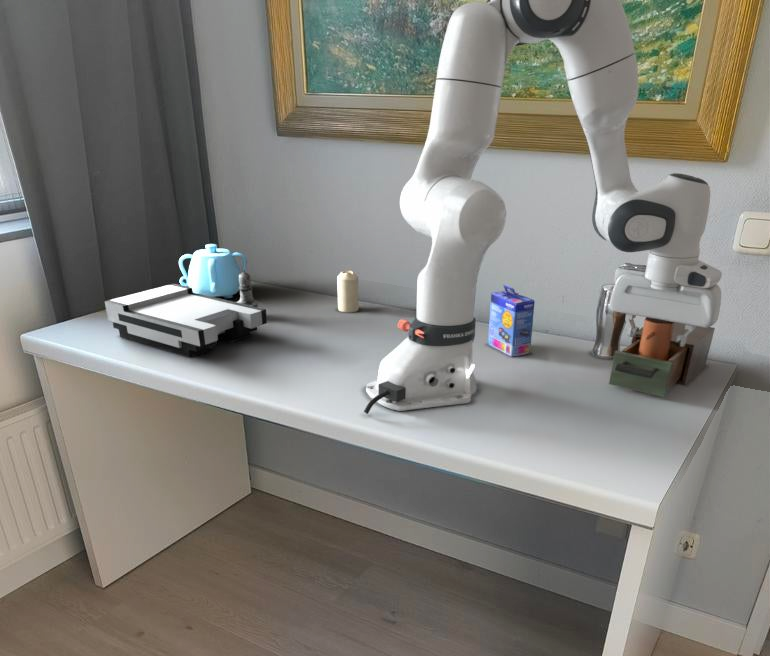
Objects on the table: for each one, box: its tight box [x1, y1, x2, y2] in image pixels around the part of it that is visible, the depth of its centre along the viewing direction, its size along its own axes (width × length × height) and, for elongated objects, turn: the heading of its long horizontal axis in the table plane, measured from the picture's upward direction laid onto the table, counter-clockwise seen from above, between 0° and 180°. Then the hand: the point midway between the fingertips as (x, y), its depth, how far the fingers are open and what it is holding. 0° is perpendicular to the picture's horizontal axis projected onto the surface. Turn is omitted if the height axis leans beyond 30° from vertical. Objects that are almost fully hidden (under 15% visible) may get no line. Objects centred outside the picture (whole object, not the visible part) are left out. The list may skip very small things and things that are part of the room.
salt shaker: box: [236, 269, 259, 308], centre depth 182 cm, size 6×6×12 cm
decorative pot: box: [178, 243, 248, 299], centre depth 200 cm, size 16×16×14 cm
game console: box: [104, 283, 268, 358], centre depth 169 cm, size 21×32×8 cm, turn 54°
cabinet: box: [630, 322, 716, 386], centre depth 152 cm, size 14×12×8 cm
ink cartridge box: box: [487, 284, 536, 358], centre depth 161 cm, size 10×6×14 cm, turn 28°
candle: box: [336, 269, 360, 313], centre depth 189 cm, size 6×6×10 cm
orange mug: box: [638, 317, 675, 361], centre depth 141 cm, size 9×6×12 cm, turn 143°
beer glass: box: [591, 283, 627, 360], centre depth 158 cm, size 7×7×15 cm
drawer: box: [608, 338, 690, 398], centre depth 142 cm, size 18×11×7 cm, turn 143°
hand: (655, 340), depth 141 cm, fingers open, 8 cm apart
